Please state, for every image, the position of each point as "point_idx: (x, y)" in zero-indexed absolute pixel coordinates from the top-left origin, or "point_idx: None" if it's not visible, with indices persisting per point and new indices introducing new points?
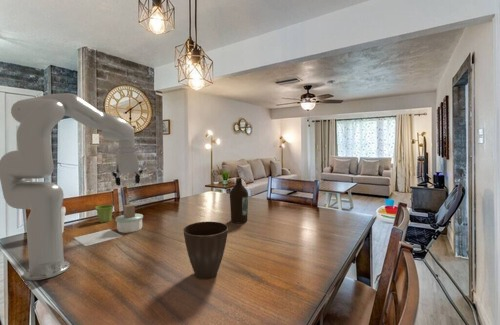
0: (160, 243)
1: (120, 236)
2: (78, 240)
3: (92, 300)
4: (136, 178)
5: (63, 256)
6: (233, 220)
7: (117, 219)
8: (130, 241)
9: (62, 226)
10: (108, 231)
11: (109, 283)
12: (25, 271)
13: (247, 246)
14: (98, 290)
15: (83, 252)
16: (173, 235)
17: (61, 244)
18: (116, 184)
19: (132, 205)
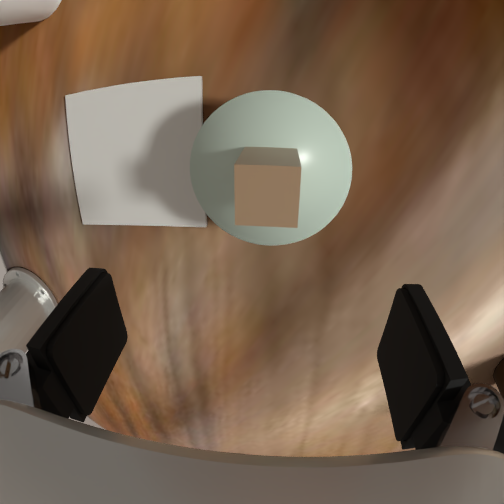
0: (268, 360)
1: (196, 223)
2: (71, 145)
3: (102, 410)
4: (406, 375)
5: (40, 323)
6: (498, 371)
7: (195, 171)
8: (209, 285)
9: (37, 7)
10: (182, 111)
11: (121, 402)
12: (3, 284)
13: (360, 453)
14: (107, 403)
15: (80, 256)
16: (338, 341)
17: (24, 351)
18: (89, 269)
19: (284, 219)
